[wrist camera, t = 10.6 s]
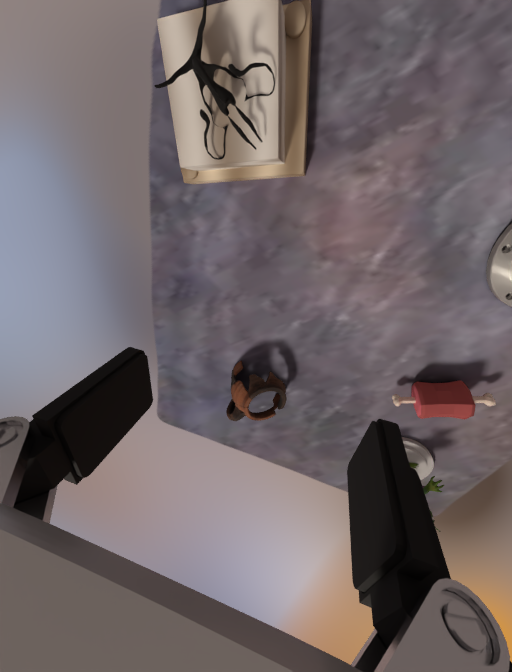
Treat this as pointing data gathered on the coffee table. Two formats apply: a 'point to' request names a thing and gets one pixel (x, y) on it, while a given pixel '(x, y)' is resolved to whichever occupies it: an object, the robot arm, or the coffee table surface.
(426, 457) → the monster figurine
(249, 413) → the pottery mug
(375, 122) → the coffee table surface
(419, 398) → the meat
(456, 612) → the robot arm
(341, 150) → the coffee table surface
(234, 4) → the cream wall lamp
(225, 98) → the creature
